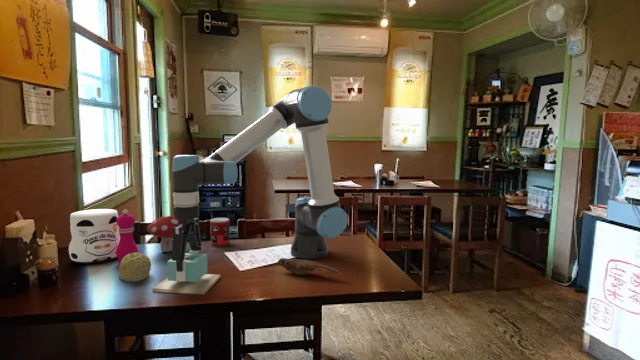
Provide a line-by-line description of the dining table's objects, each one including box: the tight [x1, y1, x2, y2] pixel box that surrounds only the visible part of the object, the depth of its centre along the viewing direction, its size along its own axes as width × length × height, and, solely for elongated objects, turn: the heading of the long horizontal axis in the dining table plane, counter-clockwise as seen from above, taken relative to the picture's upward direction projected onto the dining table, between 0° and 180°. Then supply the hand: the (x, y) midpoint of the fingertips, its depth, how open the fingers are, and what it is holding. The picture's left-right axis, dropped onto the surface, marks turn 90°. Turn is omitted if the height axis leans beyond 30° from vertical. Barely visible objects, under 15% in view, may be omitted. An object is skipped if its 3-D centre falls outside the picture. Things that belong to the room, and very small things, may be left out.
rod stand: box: [152, 256, 221, 295], centre depth 124 cm, size 16×14×9 cm
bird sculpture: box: [272, 257, 342, 276], centre depth 134 cm, size 7×25×5 cm, turn 71°
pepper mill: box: [116, 209, 139, 266], centre depth 142 cm, size 7×7×20 cm
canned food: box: [209, 217, 231, 247], centre depth 170 cm, size 8×8×11 cm
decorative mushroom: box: [146, 215, 179, 253], centre depth 158 cm, size 16×16×15 cm
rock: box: [118, 252, 152, 282], centre depth 130 cm, size 10×11×10 cm
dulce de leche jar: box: [68, 208, 120, 265], centre depth 147 cm, size 17×17×18 cm
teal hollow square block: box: [166, 252, 208, 282], centre depth 124 cm, size 9×9×6 cm
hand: (188, 275), depth 124 cm, fingers closed on teal hollow square block, 9 cm apart
